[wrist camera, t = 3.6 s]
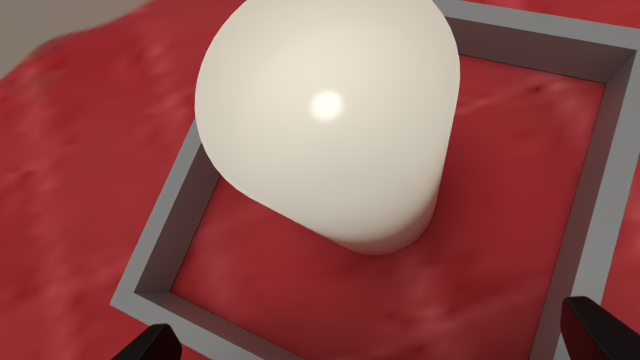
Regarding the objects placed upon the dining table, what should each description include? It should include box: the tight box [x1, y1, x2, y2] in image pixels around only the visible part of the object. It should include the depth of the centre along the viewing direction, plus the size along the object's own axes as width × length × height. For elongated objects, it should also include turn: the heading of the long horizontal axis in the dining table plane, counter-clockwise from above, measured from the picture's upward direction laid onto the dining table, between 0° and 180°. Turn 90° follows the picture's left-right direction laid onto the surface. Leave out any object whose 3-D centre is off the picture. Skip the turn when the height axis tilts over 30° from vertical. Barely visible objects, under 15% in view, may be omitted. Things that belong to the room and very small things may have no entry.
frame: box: [110, 0, 640, 360], centre depth 20 cm, size 20×20×3 cm
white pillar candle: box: [195, 0, 460, 256], centre depth 15 cm, size 6×6×12 cm
